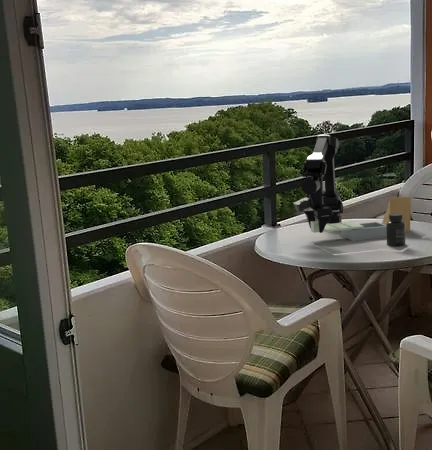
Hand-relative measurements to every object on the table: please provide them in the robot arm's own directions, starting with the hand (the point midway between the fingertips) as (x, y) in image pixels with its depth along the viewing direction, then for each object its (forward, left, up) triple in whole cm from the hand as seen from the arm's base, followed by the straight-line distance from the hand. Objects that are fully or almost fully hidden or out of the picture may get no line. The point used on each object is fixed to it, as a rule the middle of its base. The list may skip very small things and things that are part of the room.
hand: (316, 230), depth 251 cm
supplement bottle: (+29, +7, -5) cm, 31 cm away
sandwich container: (+19, +35, -5) cm, 40 cm away
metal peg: (+14, +19, -4) cm, 24 cm away
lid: (+5, +6, 0) cm, 8 cm away
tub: (+13, +16, -5) cm, 21 cm away
